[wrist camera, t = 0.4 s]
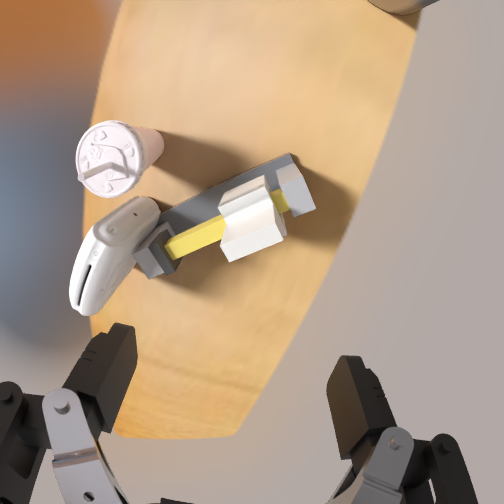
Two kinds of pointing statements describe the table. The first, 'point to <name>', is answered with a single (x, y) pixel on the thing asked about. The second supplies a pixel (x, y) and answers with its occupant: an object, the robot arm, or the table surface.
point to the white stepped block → (250, 219)
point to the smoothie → (116, 156)
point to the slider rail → (216, 215)
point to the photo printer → (110, 253)
